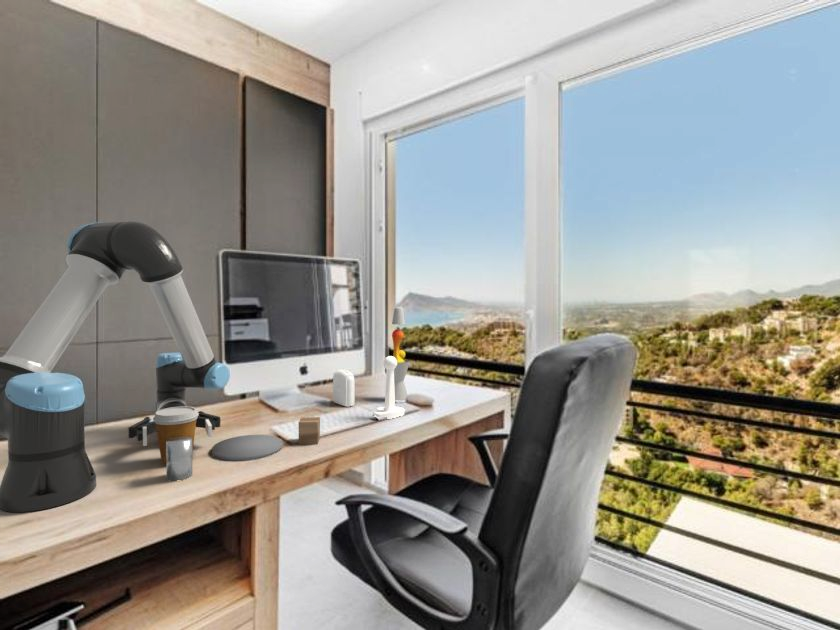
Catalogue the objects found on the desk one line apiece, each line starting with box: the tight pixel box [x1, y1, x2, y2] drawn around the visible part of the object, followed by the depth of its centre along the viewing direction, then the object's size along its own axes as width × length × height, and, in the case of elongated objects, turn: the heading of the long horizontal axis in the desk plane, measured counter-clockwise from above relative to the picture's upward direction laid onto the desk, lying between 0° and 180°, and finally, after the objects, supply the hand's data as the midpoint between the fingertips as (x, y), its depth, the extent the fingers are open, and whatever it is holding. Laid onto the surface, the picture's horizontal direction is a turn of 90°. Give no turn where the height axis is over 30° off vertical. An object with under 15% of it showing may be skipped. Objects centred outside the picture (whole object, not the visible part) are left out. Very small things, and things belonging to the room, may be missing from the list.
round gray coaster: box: [211, 434, 284, 462], centre depth 118 cm, size 17×17×1 cm
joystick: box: [372, 355, 405, 420], centre depth 151 cm, size 11×8×20 cm
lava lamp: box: [391, 306, 411, 400], centre depth 172 cm, size 9×9×35 cm
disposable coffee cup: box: [152, 405, 199, 466], centre depth 109 cm, size 10×10×12 cm
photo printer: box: [332, 369, 356, 408], centre depth 166 cm, size 10×4×12 cm, turn 39°
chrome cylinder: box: [165, 437, 193, 482], centre depth 100 cm, size 5×5×8 cm
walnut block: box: [298, 416, 321, 445], centre depth 125 cm, size 5×5×6 cm
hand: (178, 435), depth 108 cm, fingers open, 13 cm apart
